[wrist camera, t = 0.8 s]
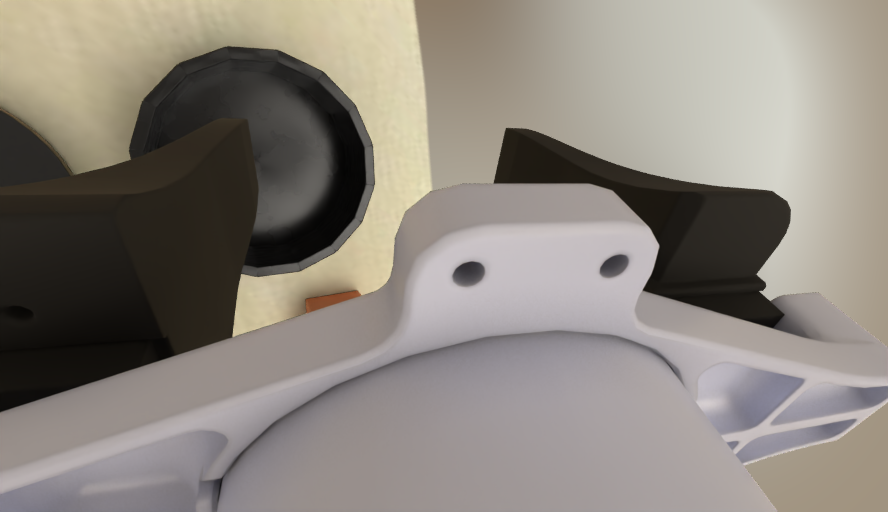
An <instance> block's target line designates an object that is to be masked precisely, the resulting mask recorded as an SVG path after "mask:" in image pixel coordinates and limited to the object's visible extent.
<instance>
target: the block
mask: <svg viewBox="0 0 888 512" xmlns="http://www.w3.org/2000/svg"><path fill="white" fill-rule="evenodd" d="M359 296H362V295H361V294H360V293H359V292H358V291H352V292H346V293H340V294H333V295H327V296H321V297H315V298H309V299H306V311H307V313H309V312H312V311H315V310H318V309H322V308H325V307H328V306H331V305H334V304H337V303H340V302H343V301H346V300H349V299H353V298H356V297H359Z"/></svg>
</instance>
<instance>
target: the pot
mask: <svg viewBox="0 0 888 512" xmlns="http://www.w3.org/2000/svg"><path fill="white" fill-rule="evenodd" d="M221 118H232V119H248V124H249V130H250V136H251V143H252V149H253V155H254V161H255V167H256V174H257V180H258V186H259V193H258V206H257V215H256V220H255V224H254V228H253V232H252V235H251V239H250V243H249V247H248V250H247V254H246V258H245V261H244V265H243V269H242V272H241V274H245V275H250V276H254V277H262V276H269V275H277V274H284V273H291V272H299V271H302V270H304V269H305V268H307V267H309V266H311V265H313V264H315V263H317V262H319V261H320V260H322V259H324V258H326V257H328V256H330V255H332V254H334V253H335V252H336V251H338V250H339V248H340V247H341V246H342V245H343V244H344V243H345V241H346V240H347V239H348V238H349V237H350V236H351V235H352V233H353V232H354V231H355V230H356V229H357V228H358V226H359V225H360V224H361V223H362V221H363V218H364V215H365V212H366V210H367V207H368V204H369V201H370V198H371V195H372V192H373V189H374V185H375V178H374V155H373V144H372V142H371V139H370V137H369V135H368V132H367V130H366V128H365V125H364V123H363V121H362V118H361V116H360V114H359V112H358V109H357V107H356V105H355V104H354V103H353V102H352V101H351V100H350V99H349V98H348V97H347V96H346V95H345V94H344V92H343V91H342V90H341V89H340V88H339V87H338V86H337V85H336V84H335V83H334V82H333V81H332V80H331V79H330V78H329V77H328V76H327V75H326V74H325V73H324V72H323V71H321V70H319V69H317V68H315V67H313V66H311V65H309V64H307V63H304V62H302V61H300V60H298V59H296V58H294V57H292V56H290V55H288V54H286V53H284V52H282V51H278V50H272V49H259V48H245V47H232V46H227V47H223V48H220V49H217V50H215V51H212V52H209V53H206V54H203V55H200V56H198V57H195V58H192V59H189V60H186V61H183V62H181V63H179V64H177V65H176V66H175V67H174V68H173V69H172V70H171V71H170V72H169V73H168V74H167V75H166V76H165V77H164V78H163V79H162V81H161V82H160V83H159V84H158V85H157V86H156V87H155V88H154V89H153V90H152V91H151V92H150V93H149V94H148V95H147V96H146V97H145V98H144V100H143V101H142V104H141V107H140V111H139V114H138V118H137V121H136V125H135V128H134V132H133V136H132V139H131V143H130V146H129V153H130V157H131V159H134V158H137V157H140V156H142V155H145V154H147V153H150V152H152V151H154V150H156V149H159V148H161V147H163V146H165V145H167V144H169V143H172V142H174V141H176V140H178V139H180V138H182V137H184V136H186V135H188V134H189V133H191V132H193V131H195V130H197V129H199V128H201V127H203V126H205V125H206V124H208V123H210V122H212V121H215V120H217V119H221Z"/></svg>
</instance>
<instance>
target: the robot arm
mask: <svg viewBox="0 0 888 512" xmlns="http://www.w3.org/2000/svg"><path fill="white" fill-rule="evenodd" d="M258 193H259V186H258V180H257V174H256V167H255V161H254V155H253V149H252V143H251V136H250V130H249V124H248V119H232V118H221V119H217V120H215V121H212V122H210V123H208V124H206V125H205V126H203V127H201V128H199V129H197V130H195V131H193V132H191V133H189V134H188V135H186V136H184V137H182V138H180V139H178V140H176V141H174V142H172V143H169V144H167V145H165V146H163V147H161V148H159V149H156V150H154V151H152V152H150V153H147V154H145V155H142V156H140V157H137V158H134V159H131V160H128V161H125V162H122V163H119V164H116V165H113V166H109V167H106V168H102V169H98V170H93V171H89V172H85V173H81V174H77V175H73V176H69V177H64V178H58V179H53V180H47V181H41V182H35V183H28V184H21V185H14V186H6V187H0V512H778V511H777V510H776V508H775V507H774V506H773V504H772V503H771V502H770V501H769V499H768V498H767V496H766V495H765V494H764V492H763V491H762V490H761V488H760V487H759V486H758V484H757V483H756V482H755V480H754V479H753V478H752V476H751V475H750V474H749V472H748V471H747V470H746V468H745V467H744V465H747V464H750V463H753V462H756V461H760V460H762V459H766V458H769V457H772V456H775V455H779V454H782V453H786V452H790V451H793V450H797V449H800V448H804V447H808V446H812V445H817V444H821V443H826V442H830V441H835V440H838V439H839V438H841V437H842V436H843V435H845V434H846V433H847V432H849V431H850V430H851V429H853V428H854V427H855V426H857V425H858V424H859V423H861V422H862V421H863V420H865V419H866V418H867V417H869V416H870V415H871V414H873V413H874V412H875V411H877V410H878V409H879V408H881V407H882V406H883V405H884V404H886V403H887V402H888V347H887V346H886V345H884V344H883V343H882V342H881V341H879V340H878V339H877V338H875V337H874V336H873V335H871V334H870V333H869V332H868V331H867V330H865V329H864V328H863V327H861V326H860V325H859V324H858V323H856V322H855V321H854V320H853V319H851V318H850V317H849V316H847V315H846V314H845V313H844V312H842V311H841V310H840V309H839V308H837V307H836V306H835V305H834V304H832V303H831V302H830V301H828V300H827V299H826V298H825V297H823V296H822V295H821V294H820V293H816V292H815V293H802V294H790V295H782V296H779V297H777V298H775V299H773V300H772V301H769V300H768V299H767V298H766V297H765V296H763V295H762V294H761V293H760V292H759V291H763V290H764V289H765V287H766V283H765V282H764V281H763V280H762V279H760V278H759V277H758V276H757V275H756V274H757V273H758V271H759V270H760V269H761V267H762V266H763V265H764V264H765V262H766V261H767V260H768V258H769V257H770V256H771V254H772V253H773V252H774V250H775V249H776V248H777V246H778V245H779V244H780V242H781V240H782V239H783V237H784V236H785V234H786V232H787V229H788V227H789V224H790V215H791V209H790V207H789V205H788V202H787V201H786V200H784V199H783V198H781V197H780V196H778V195H777V194H776V193H774V192H773V191H767V190H758V189H745V188H733V187H732V188H731V187H720V186H712V185H705V184H698V183H691V182H685V181H679V180H673V179H669V178H665V177H660V176H655V175H651V174H647V173H643V172H640V171H636V170H632V169H629V168H626V167H623V166H620V165H616V164H614V163H611V162H608V161H605V160H603V159H600V158H597V157H595V156H593V155H590V154H588V153H585V152H583V151H581V150H578V149H576V148H574V147H571V146H569V145H567V144H565V143H562V142H560V141H558V140H556V139H553V138H551V137H549V136H546V135H544V134H541V133H539V132H536V131H532V130H529V129H519V128H506V130H505V134H504V139H503V143H502V148H501V152H500V157H499V161H498V166H497V170H496V175H495V180H494V184H460V185H455V186H451V187H447V188H443V189H438V190H434V191H430V192H429V193H428V194H427V195H425V196H424V197H423V198H422V199H421V200H419V201H418V202H417V203H416V204H414V205H413V206H412V207H411V208H409V209H408V210H407V211H406V212H405V214H404V216H403V219H402V221H401V224H400V226H399V229H398V232H397V234H396V237H395V245H394V260H393V268H392V272H391V276H390V278H389V280H388V281H387V283H386V284H385V285H384V286H383V287H381V288H380V289H378V290H377V291H374V292H371V293H368V294H365V295H362V296H359V297H356V298H353V299H349V300H346V301H343V302H340V303H337V304H334V305H331V306H328V307H325V308H322V309H318V310H315V311H312V312H309V313H306V314H303V315H300V316H297V317H294V318H291V319H287V320H284V321H281V322H278V323H275V324H272V325H269V326H266V327H263V328H260V329H257V330H253V331H250V332H247V333H244V334H241V335H238V336H235V337H232V335H233V325H234V316H235V308H236V300H237V292H238V286H239V281H240V276H241V272H242V269H243V265H244V261H245V258H246V254H247V250H248V247H249V243H250V239H251V235H252V232H253V228H254V224H255V220H256V215H257V206H258Z"/></svg>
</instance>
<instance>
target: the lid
mask: <svg viewBox="0 0 888 512" xmlns="http://www.w3.org/2000/svg"><path fill="white" fill-rule="evenodd" d="M69 176H73V174H72V172H71V171H70V169H69V168H68V166H67V165H66V163H65V162H64V160H63V159H62V158H61V157H60V156H59V154H58V153H57V152H56V151H55V150H54V149H53V148H52V146H51V145H50V144H49V143H48V142H46V141H45V140H44V139H43V138H42V137H41V136H40V135H39V134H38V133H37V132H35V131H34V130H33V129H32V128H30V127H29V126H27V125H26V124H25V123H23V122H22V121H21V120H19V119H18V118H17V117H15V116H13V115H11V114H10V113H8V112H6V111H5V110H3V109H1V108H0V187H6V186H14V185H21V184H28V183H35V182H41V181H47V180H53V179H58V178H64V177H69Z"/></svg>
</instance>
